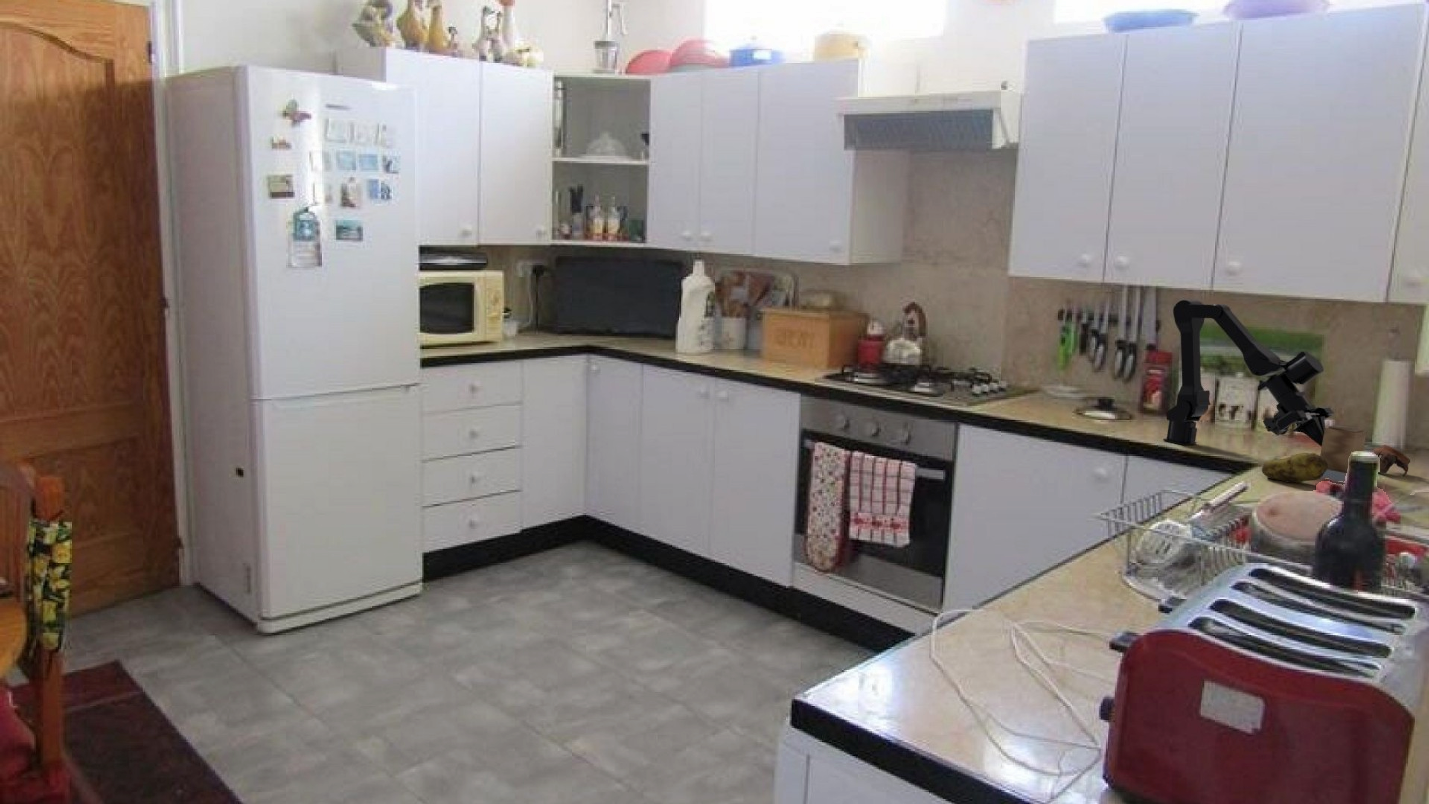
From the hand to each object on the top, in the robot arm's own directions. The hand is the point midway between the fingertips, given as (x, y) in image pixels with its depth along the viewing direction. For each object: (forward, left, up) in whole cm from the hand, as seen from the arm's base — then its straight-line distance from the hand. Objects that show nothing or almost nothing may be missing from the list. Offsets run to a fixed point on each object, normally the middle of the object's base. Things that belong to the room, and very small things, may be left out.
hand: (1325, 446), depth 255 cm
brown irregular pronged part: (+6, +20, -7) cm, 22 cm away
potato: (+2, -18, -7) cm, 20 cm away
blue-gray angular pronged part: (0, 0, -7) cm, 7 cm away
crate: (+4, 0, -7) cm, 8 cm away
